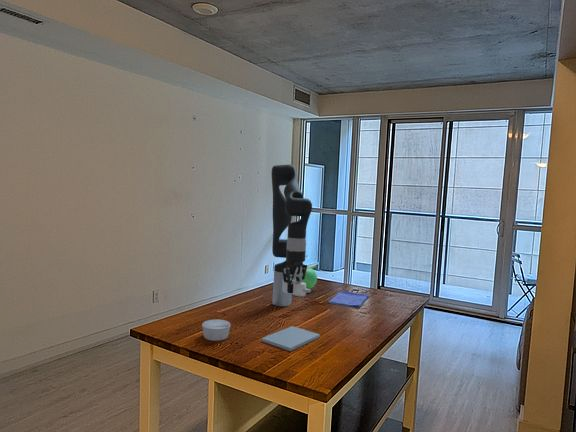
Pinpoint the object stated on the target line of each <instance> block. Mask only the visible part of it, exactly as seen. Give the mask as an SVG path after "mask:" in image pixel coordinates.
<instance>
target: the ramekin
mask: <svg viewBox="0 0 576 432" xmlns="http://www.w3.org/2000/svg"><path fill="white" fill-rule="evenodd" d="M201 327H202V335H203V337H204V339H206V340H208V341H210V342H211V341H212V342H218V341H224V340H226V339H227V338H228V337H229V334H230V328H231V322H230V321H227V320H224V319H218V318H216V319H208V320H205V321H204V322H202V324H201Z"/></svg>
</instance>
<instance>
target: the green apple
mask: <svg viewBox="0 0 576 432" xmlns="http://www.w3.org/2000/svg"><path fill="white" fill-rule="evenodd" d="M316 267H317V265H316V264H313V265H310V266H308V265H307V270H306V275H305V279H304V280H302V282H304V283H306V288H307V289H312V288H314V287H315V286H316V284H317V282H318V276H317V273H316V271H315V270H314V269H315V268H316ZM292 276H293V275H292ZM302 276H303V273H302ZM294 280H295V279H294ZM295 281H296V280H295Z"/></svg>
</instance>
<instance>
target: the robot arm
mask: <svg viewBox="0 0 576 432" xmlns="http://www.w3.org/2000/svg"><path fill="white" fill-rule="evenodd" d="M271 184H272V185H271V187H272V188H271V189H272V230H273V233H272V247H271V249H272V255H273V256H274V258H281V259H282V258H283V259H285V261H282V262H279V263H276V264H275V265H274V267H273V269H274V270H273V285H272V287H273V289H272V305H274V306H276V307H289V306H291V304H292V302H293V301H292V299H293V295H292V294H288V293H293V282H294V279H295V280H296V281H300V282H302V280H304V279H305V275H306V270H307V267H308V264H304V262H306V252H307V251H306V250H307V249H306V247H307V239H306V238H307V236H306V235H307V226H308V222H309V220H310V216H311V213H312V212H313V211H312V210H313V203H312V201H311V200H310V199H309V198H305V197H304V196H303V191H302V190H301V188H300V183H299V178H298V174H297V169H296V166H295V165H294V164H277V165H273V166H272V168H271ZM280 186H285V187H284V189H283V193H282V191H281V189H280ZM293 217H300V218H299V220H297V221H293V222H292V220H293ZM286 229H287V239H282V238H281V236H282V234H283V233H284V231H285V230H286ZM302 273H303V276H302ZM292 275H293V276H292ZM290 279H291V280H290ZM283 280H284V282H286V283H287V284H288V286H287V292H288V293H284V292H282V286H283Z"/></svg>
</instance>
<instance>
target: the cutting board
mask: <svg viewBox="0 0 576 432" xmlns="http://www.w3.org/2000/svg"><path fill="white" fill-rule="evenodd" d="M320 336H321V334H319V333H316V332H313V331H310V330H307V329H302V328H300V327H296V326H293V325H291V326H289V327H286V328H284V329H281V330H279V331H277V332H274V333H272V334H268V335H266V336H264V337H262V338H261V342H263V343H265V344H269V345H272V346H274V347H277V348H280V349H283V350H286V351H289V352H292V351H293V350H296V349H298V348H300V347H302V346H304V345H307V344H309V343H310V342H313V341H314V340H315V341H316V340H318V339H319V338H320Z"/></svg>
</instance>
